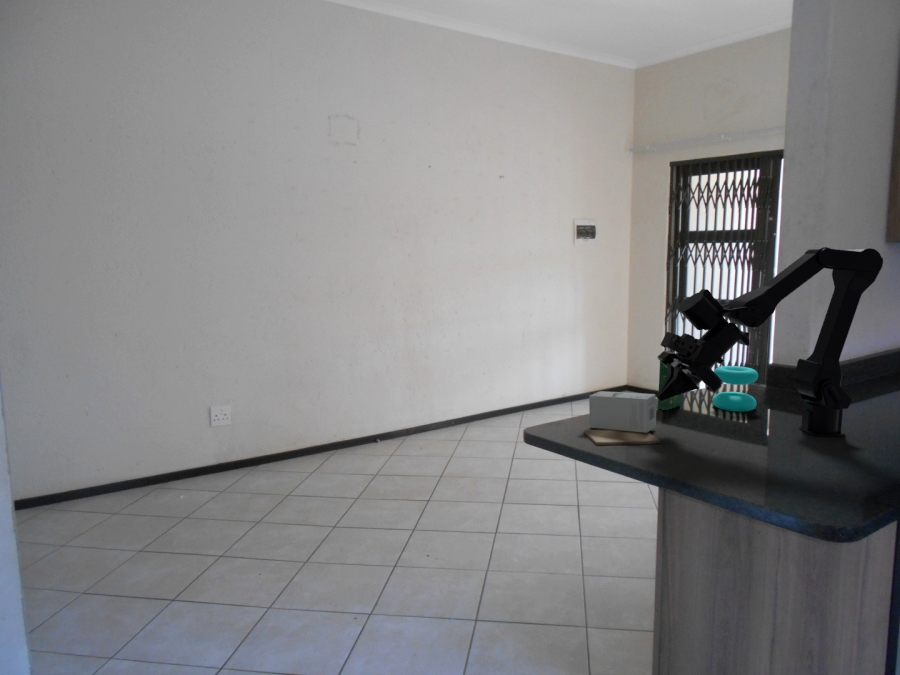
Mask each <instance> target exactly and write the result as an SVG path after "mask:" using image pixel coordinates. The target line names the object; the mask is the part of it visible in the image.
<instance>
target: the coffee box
mask: <svg viewBox="0 0 900 675" xmlns="http://www.w3.org/2000/svg"><path fill="white" fill-rule="evenodd" d="M658 375H659V377H658V392H659V391H660V389H661V387H662V385H663V384H664V382H665V380H666V377H667V375H668V370H667V367H666V366H665V365H664V364H663V363H662V362H661V361H660V360H659V374H658ZM681 401H682V394H680V395H677V396H674V397H671V398H668V399H666V400H663V401H660V400H659V399H658V398H657V410H658V409H664V410H668V411H670V410H669V409H671V410H673V409H674V408H678V407H680V406H681V404H682V403H681ZM677 406H678V407H677ZM672 408H673V409H672Z"/></svg>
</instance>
